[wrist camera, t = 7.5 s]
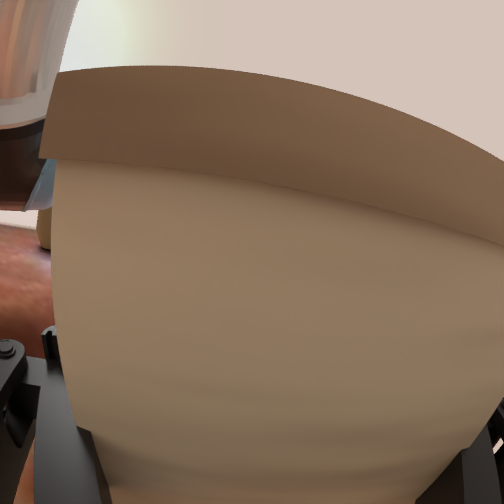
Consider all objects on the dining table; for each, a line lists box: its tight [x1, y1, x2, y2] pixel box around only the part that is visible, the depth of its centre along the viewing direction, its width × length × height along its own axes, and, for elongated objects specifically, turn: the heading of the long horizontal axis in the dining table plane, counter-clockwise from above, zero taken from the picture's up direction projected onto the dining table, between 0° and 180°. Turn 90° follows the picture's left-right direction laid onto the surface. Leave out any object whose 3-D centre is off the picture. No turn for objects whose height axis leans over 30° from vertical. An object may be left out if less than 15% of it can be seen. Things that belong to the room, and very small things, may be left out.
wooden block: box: [39, 66, 504, 504], centre depth 9 cm, size 9×9×16 cm
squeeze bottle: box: [36, 207, 52, 249], centre depth 45 cm, size 8×8×18 cm
